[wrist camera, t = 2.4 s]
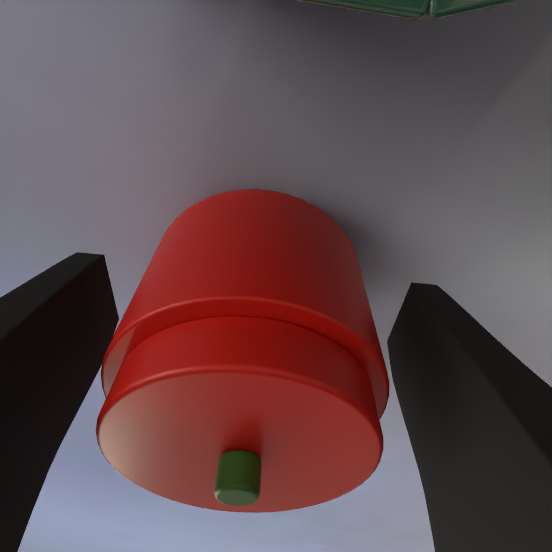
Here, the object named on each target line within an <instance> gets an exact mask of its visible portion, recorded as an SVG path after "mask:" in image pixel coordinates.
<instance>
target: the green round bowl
mask: <svg viewBox="0 0 552 552" xmlns="http://www.w3.org/2000/svg"><path fill="white" fill-rule="evenodd" d="M295 1H301V2H307V3H313V4H319V5H326V6H332V7H338V8H344V9H350V10H356V11H362V12H369V13H375V14H381V15H387V16H393V17H399V18H405V19H411V20H418V19H421V18H427V19H432V20H436V19H440V18H445V17H450V16H454V15H459V14H464V13H468V12H473V11H478V10H482V9H487V8H492V7H496V6H501V5H506V4H510V3H515V2H520V1H524V0H295Z"/></svg>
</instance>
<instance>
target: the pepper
mask: <svg viewBox="0 0 552 552" xmlns="http://www.w3.org/2000/svg"><path fill="white" fill-rule="evenodd" d="M101 380H102V388H103V391H104V394H105V397H106V400H105V402H104V404H103V407H102V409H101V411H100V414H99V416H98V419H97V426H96V435H97V442H98V445H99V447H100V450H101V452H102V454H103V455H104V457H105V458H106V460H107V461H108V462H109V463H110V464H111V465H112V467H113V468H114V469H115V470H117V471H118V472H119V473H120V474H121V475H123V476H124V477H125V478H127V479H128V480H130V481H131V482H133V483H134V484H136V485H138V486H140V487H142V488H144V489H146V490H148V491H150V492H152V493H155V494H157V495H159V496H162V497H165V498H168V499H171V500H173V501H177V502H180V503H184V504H188V505H192V506H197V507H201V508H207V509H213V510H221V511H230V512H276V511H286V510H293V509H299V508H304V507H308V506H313V505H317V504H320V503H323V502H327V501H330V500H332V499H335V498H337V497H340V496H342V495H344V494H346V493H348V492H350V491H352V490H353V489H355V488H356V487H358V486H359V485H361V484H362V483H363V482H364V481H365V480H367V479H368V478H369V477H370V476H371V474H372V473H373V472H374V471H375V469H376V468H377V466H378V464H379V462H380V459H381V456H382V452H383V435H382V430H381V425H380V421H379V420H380V418H381V417H382V415H383V413H384V410H385V408H386V405H387V401H388V397H389V379H388V374H387V370H386V366H385V362H384V358H383V354H382V351H381V347H380V343H379V339H378V336H377V332H376V328H375V324H374V320H373V317H372V313H371V309H370V305H369V301H368V298H367V294H366V290H365V286H364V282H363V279H362V275H361V271H360V267H359V263H358V260H357V256H356V253H355V250H354V248H353V245H352V243H351V241H350V240H349V238H348V236H347V235H346V233H345V232H344V231H343V230H342V228H341V227H340V226H339V225H338V224H337V223H336V222H335V221H334V220H333V219H332V218H331V217H330V216H329V215H328V214H326V213H325V212H323V211H322V210H320V209H319V208H317V207H316V206H314V205H312V204H310V203H308V202H306V201H304V200H302V199H299V198H297V197H294V196H291V195H288V194H284V193H279V192H275V191H267V190H238V191H232V192H226V193H222V194H219V195H215V196H212V197H209V198H207V199H205V200H203V201H200V202H198V203H197V204H195V205H193V206H192V207H190V208H189V209H187V210H186V211H184V212H183V213H182V214H181V215H180V216H179V217H177V218H176V220H175V221H174V222H173V223H172V224H171V225H170V227H169V228H168V229H167V231H166V233H165V234H164V236H163V238H162V240H161V242H160V244H159V246H158V248H157V250H156V252H155V254H154V256H153V258H152V260H151V262H150V264H149V266H148V268H147V270H146V272H145V274H144V276H143V278H142V280H141V282H140V284H139V286H138V288H137V290H136V292H135V294H134V296H133V298H132V300H131V302H130V304H129V306H128V308H127V310H126V312H125V314H124V316H123V318H122V320H121V322H120V324H119V326H118V328H117V330H116V332H115V334H114V336H113V338H112V340H111V342H110V344H109V346H108V348H107V350H106V353H105V356H104V359H103V361H102V369H101Z"/></svg>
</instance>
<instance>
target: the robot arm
mask: <svg viewBox="0 0 552 552" xmlns="http://www.w3.org/2000/svg"><path fill="white" fill-rule="evenodd" d="M118 320H119V317H118V313H117V308H116V304H115V300H114V296H113V291H112V287H111V283H110V279H109V274H108V270H107V266H106V261H105V257H104V255H100V254H89V253H78V252H77V253H75V254H73V255H71V256H69V257H68V258H66V259H64V260H62V261H61V262H59V263H57V264H55V265H54V266H52V267H50V268H49V269H47V270H45V271H44V272H42V273H40V274H39V275H37V276H36V277H34V278H32V279H31V280H29V281H27V282H26V283H24V284H22V285H21V286H19V287H17V288H16V289H14V290H12V291H11V292H9V293H7V294H6V295H4V296H2V297H1V298H0V552H17V551H18V548H19V546H20V543H21V540H22V537H23V535H24V532H25V529H26V527H27V524H28V521H29V519H30V516H31V513H32V511H33V508H34V506H35V503H36V501H37V498H38V496H39V493H40V491H41V488H42V486H43V483H44V481H45V478H46V476H47V473H48V471H49V468H50V466H51V464H52V462H53V460H54V457H55V455H56V453H57V451H58V449H59V447H60V445H61V443H62V441H63V439H64V437H65V435H66V433H67V431H68V429H69V427H70V425H71V423H72V421H73V419H74V418H75V416H76V414H77V412H78V410H79V408H80V406H81V404H82V402H83V400H84V398H85V396H86V394H87V392H88V390H89V389H90V387H91V385H92V383H93V381H94V379H95V377H96V375H97V373H98V371H99V369H100V367H101V365H102V361H103V359H104V356H105V353H106V350H107V348H108V346H109V344H110V342H111V340H112V338H113V335H114V332H115V329H116V326H117V323H118ZM387 343H388V351H389V359H390V365H391V371H392V377H393V382H394V386H395V389H396V393H397V396H398V400H399V403H400V407H401V411H402V414H403V417H404V421H405V424H406V428H407V431H408V435H409V438H410V441H411V445H412V448H413V452H414V455H415V459H416V462H417V465H418V469H419V473H420V477H421V481H422V485H423V489H424V493H425V498H426V504H427V509H428V514H429V520H430V525H431V530H432V535H433V541H434V547H435V552H552V387H550V386H549V385H548V384H547V383H546V382H544V381H543V380H542V379H541V378H540V377H538V376H537V375H536V374H535V373H534V372H532V371H531V370H530V369H529V368H528V367H527V366H526V365H524V364H523V363H522V362H521V361H520V360H519V359H518V358H516V357H515V356H514V355H513V354H512V353H511V352H510V351H509V350H507V349H506V348H505V347H504V346H503V345H502V344H501V343H500V342H499V341H498V340H497V339H495V338H494V337H493V336H492V335H491V334H490V333H489V332H488V331H487V330H486V329H485V328H484V327H482V326H481V325H480V324H479V323H478V322H477V321H476V320H475V319H474V318H473V317H472V316H471V315H470V314H469V313H468V312H466V311H465V310H464V309H463V308H462V307H461V306H460V305H459V304H458V303H457V302H456V301H455V300H454V299H452V298H451V297H450V296H449V295H448V294H447V293H446V292H445V291H443V290H442V289H441V288H440V287H439V286H437V285H432V284H421V283H411V285H410V287H409V290H408V292H407V294H406V297H405V299H404V302H403V304H402V307H401V309H400V311H399V314H398V316H397V319H396V321H395V324H394V326H393V328H392V331H391V333H390V336H389V338H388V340H387Z"/></svg>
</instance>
